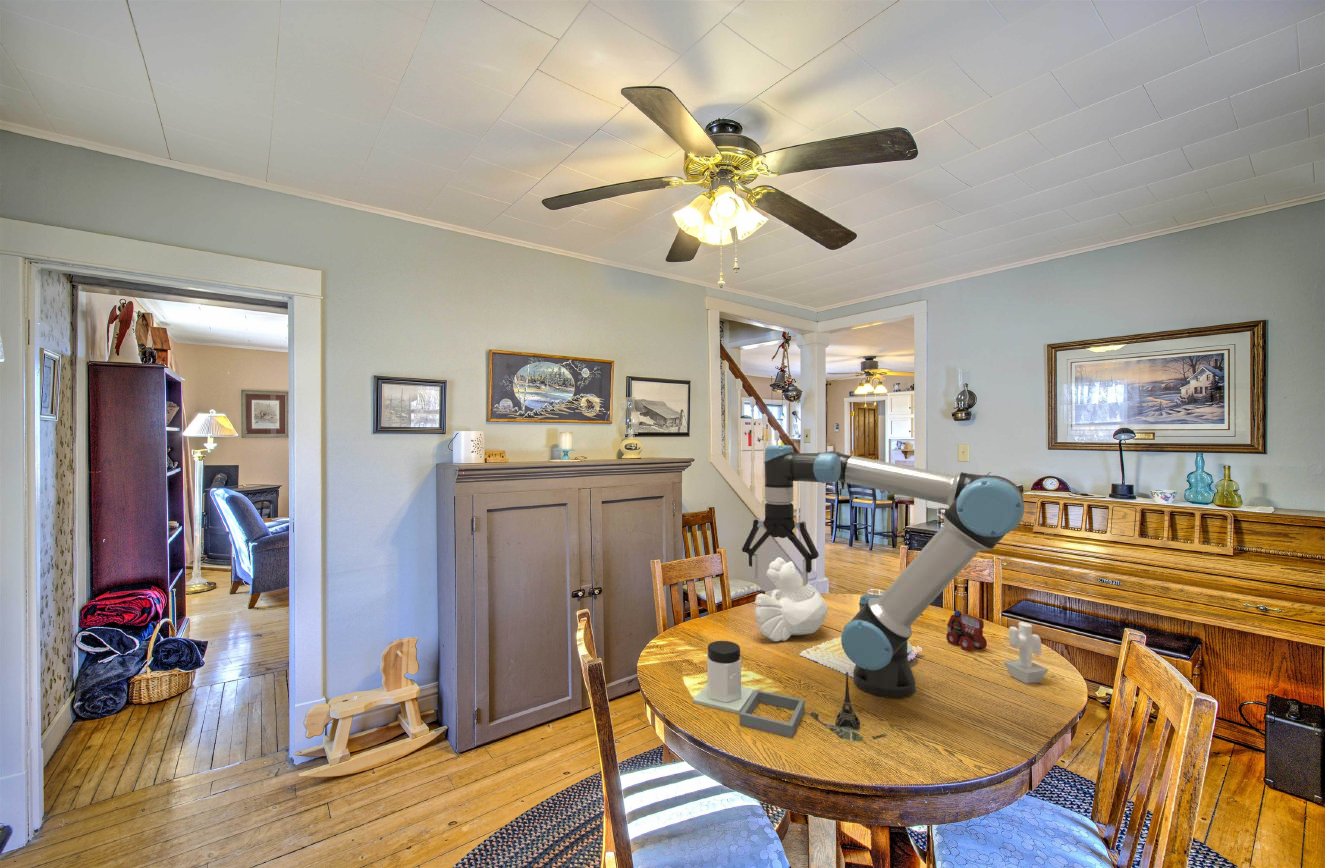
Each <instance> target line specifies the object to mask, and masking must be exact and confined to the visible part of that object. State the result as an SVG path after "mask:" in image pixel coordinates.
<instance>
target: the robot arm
mask: <svg viewBox="0 0 1325 868" xmlns="http://www.w3.org/2000/svg"><path fill="white" fill-rule="evenodd" d="M763 464H764V501H765V502H766V503H765V504H764V519H760V518H759V517H758V518H755V519H753V521H752V529H750V532H749V534H748V536H747V538H746V540H745V543H743V546H742V548H741V552H742V553H746V554H747V555H748V566H749V567H751V572H752V573H751V576H752V577H751V579H752V581H756V580H757V579H759V574H758V573H759V569H758V568H759V565H758V563H759V561H758V560H759V554H758V553H756V552H757V551H758V550H759V548H760V547H761V546H762V545H763V544H764V543H765V542H766V541H767V539H768V538H770V536H771V537H772V538H781V539H785V538H787V539H788V540H789V541H790V542H791V543H792V544H793V546H794V548H796V549H797V550H798V552H799V553H800V554H801V555H802V558H803V560H802V579H803V586H806V585H807V584H808V583H809V579H808V578H809V574H810V573H811V572H812V570H813V569H812V568H813V567H812V566H813V565H812V561H813V560H817V559H818V557H820V556H819V555H820V553H819V552H818V550H817V547H816V545H815V543H814V542H813V540H812V538H811V535H810V534H809V532H808V530H807V523H806V521H804V520H803V521H801V522H795V520H794V513H795V512H794V504H793V502H794V482H808V483H810V482H811V483H821V484H826V483H827V484H828V483H831V484H832V483H834V484H835V483H836V482H841V483H849V484H853V485H858V486H860V487H865V488H871V489H875V490H878V491H882V492H883V491H884V492H888V493H893V494H897V495H901V496H906V497H910V498H914V499H919V500H924V501H927V502H928V501H929V502H933V503H936V504H943V505H946V506H949V507H948V508H947V509H946V510H945V512H944V513H943V514H942V518H943V525H942V526H941V527H940V529H939V530H938V531H937V532H936V533H935V534H934V535H933V537H932V538H931V539H929V541H928V542H927V544H926V545H925V546H924V547H923V548H922V550H920V551H919V552H918V554H917V555H916V556H915V557H914V559H913V560H912V561H911V562H910V563H909V564H908V565H907V566H906V567H905V568H904V570H903V571H902V572H901V573H900V574H899V576H898V577H897V578H896V579H895V580H894V581H893V582H892V583H891V585H890V586H888V588H887V589H886V590H885V591H884V592H883V594H862V595H861V596H860V598H859V602H858V606H859V611H858V612H857V613H856V614H855V615H854V616H853V618H852V619H851V620H850V621H848V622H847V623H846V624H845V625H844V627H843V629H842V632H841V635H840V642H841V647H842V650H843V652H844V653H845V655H846V657H847V658H848V659H849V660H850V661H851V662H852V663H853V664H854V668H853V672H852V673H853V674H852V675H853V678H852V679H853V683H854V684H855V685H856V686H857V687H858V688H859V689H860V690H862V691H864V692H866V693H869V694H871V695H875V696H879V697H883V698H892V699H893V698H894V699H896V698H898V699H899V698H900V699H901V698H906V697H910V696H912V695H913V694H915V692H916V680H915V676H914V673H913V670H912V667H911V664H910V662H909V657H908V650H909V649H908V640H909V639H910V638H911V637H912V635H913V631H912V625H913V624H914V622H915V621H916V620H917V619H918V618H919V617H920V616H921V615H922V614H923V612H924V611H926V609H928V607H929V606H930V605H931V604H932V603H933V602H934V601H935V599H936V598H937V597H938V596H939V595H940V594H941V593H942V592H944V590H945V589H946V588H947V587H948V586H949V584H950V583H951V582H953V580H954V579H955V578H956V577H957V576H958V575H959V574H960V572H962V571H963V569H964V568H965V567H966V566H967V565H968V564H969V563H970V561H971V560H973V558H974V557H975V556H976V555H977V554H978V553H979V552H981V551H991V550H993V549H994V548H995V547H996V546H997V544H998V543H1000V541H1001V540H1002V539H1003V538H1004V537H1005V536H1006V535H1007V534H1009V533H1010V532H1013V531H1014V530H1015V529H1016V528H1017V527H1018V526H1019V525H1020V523H1021V521H1023V517H1024V514H1025V513H1024V512H1025V505H1024V503H1025V502H1024V496H1023V493H1022V492H1021V490H1020V488H1019V487H1018V485H1016V484H1015V483H1014V482H1013V481H1011V480H1010V479H1008V478H1006V477H1003V476H999V475H988V474H987V475H986V474H975V473H968V472H962V471H959V472H958V473H955V474H949V473H946V472H939V471H934V470H929V469H923V468H919V467H914V466H908V465H904V464H898V463H892V462H887V461H884V460H883V461H882V460H876V459H873V458H872V459H871V458H866V457H861V456H855V455H848V454H844V453H842V452H840V451H835V450H834V451H833V450H830V451H827V452H826V451H825V452H803V453H802V452H801V453H800V452H795V451H794V447H793V446H792V445H782V444H781V445H780V444H779V445H778V444H777V445H773V444H772V445H768V446H766V447H765V449H764V461H763ZM762 526H763V527H764V528H765V530H766V531H765V532H764V533H763V534H762V535H761V537H760V538H759V539H758V540H757V541H756V542H755V543H754V544H753V546H752V547H751V545H752V543H753V542H754V540H755V537H756V535H757V533H758V531H759V529H760V528H762ZM795 528H796V529H797V531H800V534H801V536H802V539H803V541H804V542H805V545H806V547H807V548H806V547H805V546H804V544H803V543H802V542H801V540H800V539H799V538H798V537H797V535H796V534H795V532H794V531H793V530H794V529H795Z"/></svg>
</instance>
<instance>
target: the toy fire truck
mask: <svg viewBox="0 0 1325 868" xmlns="http://www.w3.org/2000/svg"><path fill="white" fill-rule="evenodd" d="M984 623H985V622H984V620H983V619H982V618H979V617H976V616H974V615H971V614H968V613H962V612H961V611H960V610H955V611H954V612H953V614H952V615H950V617H949V619H948V622H947V624H946V625H947V633H946V640H947V642H948V643H949V644H950V645H951V646H956V645H959V646H960V648H961V649H962V650H963V651H965V652H971V651H973V649H974V648H977V649H979V650H983V649H986V648H987V646H988V643H987V639H986V638H985V636H984V633H983V632H984V631H983V629H984V628H985V624H984Z"/></svg>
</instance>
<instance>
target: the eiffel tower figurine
mask: <svg viewBox="0 0 1325 868" xmlns="http://www.w3.org/2000/svg"><path fill="white" fill-rule="evenodd" d="M849 683H850V682H849V672H848V671H846V672H845V697H844V699H843V705H842V706H841V708H840V711H839V712H838V713H837V715H835V721H834V724H828V723H826V722H825V723H824V722H821V720H820V718H819V716H820V714H819V713H816V712H814V711H813V712H812V711H811V712H807V714H808V715H809V716H811V717H812V718H813V719H815V720H816V721H818V722H819V723H820V724H821V725H823V726H824V727H826V728H827V729H828V730H830V731H831V732H832V733H834V734H835V735H836V736H837V737H839V739H842V740H847V741H851V742H860V741H863V740H864V738H865V737H864V736H862V735H861V734H859V733H861V731H860V730H861V720H860V719H859V717H858V716H857V715H856V713H855V709H853V706H852V700H851V697H850V688H849V687H850V686H849ZM885 736H887V735H886V734H885V733H882V734H879V735H875V736H873V735H871V737H872V739H873V740H877V739H880V738H883V737H885Z"/></svg>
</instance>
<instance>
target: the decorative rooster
mask: <svg viewBox="0 0 1325 868" xmlns="http://www.w3.org/2000/svg"><path fill="white" fill-rule="evenodd" d="M766 577H767V579H768V580H771V581H772V583H773V584H774V586H775V588H776V589H773V590H772V592H771V594H770V595H771V596H769V595H767V594H765V593H758V594H757V595H756V596H755V601H754V605H755V606H756V607H755V610H754V616H755V619H756V623H757V624H758V630H759V632H760V633H762V635H763V636H765V637H767V638H768V639H770V640H771V641H772V642H776V643H777V642H780V641H783V642H785V641H787V640H788V639H790V637H791V636H804V635H811V634H813V633H815V632H817V631H818V630H819V628H820V627H821V626H822V625H823V624H824V622H825V620H826V618H827V614H828V607H827V603H826V601H825V599H824V598H823V596H822V595H821V593H820V592H819V591H818V590H817V589H816V588H815V587H814V586H813V585H811V584H810V583H809V582H808V584H807V585H806V586H803V576H802V575H801V574H800V573H799V571H798V569H796V565H795V564H794V562H793V561H788V562H786V561H785V560H784V558H782V557H780V556H779V557H776V559H774V560H773V561H771V562H770V563H769V565H768V569H767V570H766ZM777 595H779V598H778V599H777V597H776V596H777Z"/></svg>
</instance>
